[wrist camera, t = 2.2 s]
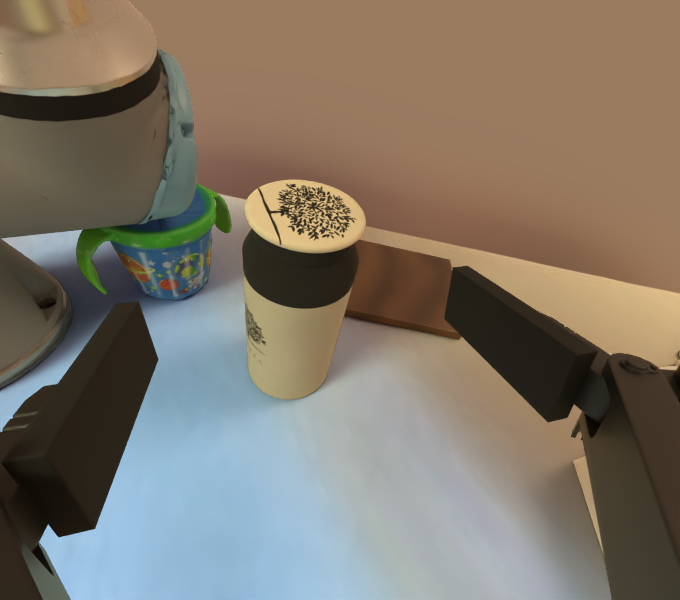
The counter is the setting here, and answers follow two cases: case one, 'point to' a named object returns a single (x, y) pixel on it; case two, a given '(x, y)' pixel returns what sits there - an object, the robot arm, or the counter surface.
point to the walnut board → (401, 289)
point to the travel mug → (297, 281)
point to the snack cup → (162, 248)
